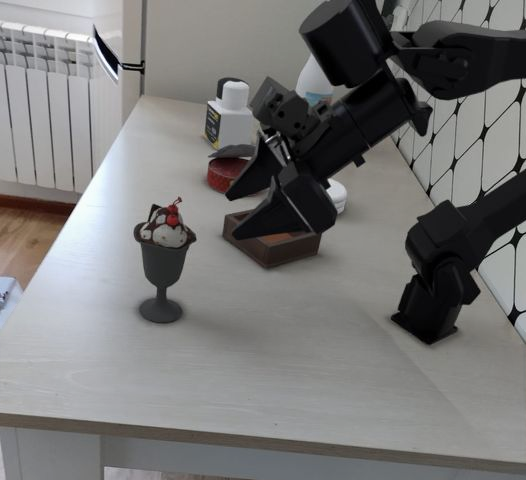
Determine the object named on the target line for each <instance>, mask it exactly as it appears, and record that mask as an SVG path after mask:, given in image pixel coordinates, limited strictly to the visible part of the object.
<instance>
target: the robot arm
mask: <svg viewBox="0 0 526 480" xmlns="http://www.w3.org/2000/svg"><path fill="white" fill-rule="evenodd" d="M298 33H299V35H300V36H301V38H302V40H303V41H304V43H305V45H306V46H307V48H308V50H309V51H310V54H311V53H312V55H313V56H314V58H315V60H316V61H317V63H318V64H319V66H320V68H321V69H322V71H323V73H324V74H325V76H326V78H327V79H328V81H329V82H330V84H331V85H332V86H334V87H340V86H344V87H345V89H348V90H349V91H348V92H346V93H345V94H343V95H342V96H341V97H340V98H339V99H337V100H336V101H334V102H333V103H331V105H329V103H328V102H327V100H326V101H323V100H322V101H320V102H318V103H317V104H316V105H314V106H313V107H311V106H310V105H309V103H308V101H307V99H306V98H305V97H303V98H302V97H300V96H299V95H298V94H297V92H296V89H292V90H289V89H288V88H287V87H285V86H284V85H282V84H281V83H279V82H278V81H277V80H275V79H274V78H272V77H271V76H269V75H267V76H265V78H264V80H263V82H262V83H261V85H260V87H259V88H258V90H257V92H256V93H255V94H254V96H253V98H252V99H251V101H250V102H249V104H248V105H249V107H250V108H251V109H252V110H251V111H252V114H253V116H254V119H256V120H257V121H258V123H259V126H260V129H261V131H262V132H261V131H260V129H257V131H256V140H255V147H256V149H255V153H254V155H253V156H252V157H250V159H248V160H249V162H248V163H247V165H246V166H245V167H244V169H243V170H242V171H241V172H240V174H239V175H238V176H237V178H236V179H235V180H234V182H233V183H232V184H231V186H230V187H229V188H228V190H227V191H226V192H225V194H224V197H225V198H226V199H227V200H228V201H229V202H234V201H237V200H240V199H243V198H246V197H250V196H249V195H251V194H254V193H256V192H259V191H261V192H263V191H265V190H267V189H269V190H268V194H267V196H266V197H265V198H264V199H263V200H262V201H261V202H260V203H258V205H257V206H255V207H254V208H253V209H254V210H253V211H251V212H250V213H249V214H248V215H247V216H246V217H245V218H244V219H243V220H242V221H241V222H240V223H239V224H238V225H237V226H236V227H235V228H234V229H233V230H232V231H231V235H232V236H233V237H234V238H235V239H236V240H237V241H239V240H245V239H251V238H257V237H263V236H269V235H275V234H283V233H293V232H303V231H305V233H306V234H309V233H311V232H312V230H311V228H312V229H313V231H314V232H315V233H316V235H318V236H319V235H321V234H322V235H323V234H324V233H325V232H326V231H328V230H329V229H331V228H332V227H334V226H335V225H336V222H337V217H338V215H339V214H338V211H337V209H336V207H335V205H334V203H333V201H332V199H331V197H330V195H329V194H328V193H327V191H326V190H327V189H329V188H330V187H331V185H330V183H329V181H328V179H329V178H330V179H332V178H333V176H335V175H336V174H338V173H339V172H341V171H342V170H343V169H345V168H347V167H348V166H349V165H351V164H352V163H354V165H355V168H357V169H358V168H360V167H361V166H362V165H364V164H366V162H367V161H366V160H365V158H364V157H363V155H365V154H366V153H367V152H369V151H370V150H371V149H373V148H374V147H376V146H377V145H378V144H380V143H382V142H383V141H384V140H385V139H387V138H388V137H390V136H391V135H392V134H393V133H395V132H397V131H398V130H400V129H401V128H402V127H404V126H405V125H406V124H407V123H408V125H409V126H410V127H411V128H412V129H413V130H414V131H415V132H416V133H417V135H418V136H419V137H421V138H422V137H423V138H424V137H425V136H427V134H428V130H429V129H428V128H429V123H430V118H431V116H432V114H433V112H434V108H433V106H432V105H430V104H429V103H428V102H427V101H423V100H422V101H421V100H419V98H418V97H417V94H416V93H415V91H414V88H413V87H412V84H411V83H410V81H409V80H408V78H406V77H396V76H395V75H394V73H393V72H392V69H391V67H390V66H389V64H388V62H387V61H388V59H389V60H390V61H391V62H393V63H394V64H395V65H396V66H397V67H398V68H400V69H401V70H402V71H403V72H405V73H406V74H407V75H408V76H409V77H410V79H411V80H412V81H413V82H414V83H416V84H417V85H418V86H420V87H421V88H422V89H423V90H424V91H425V92H426V93H428V94H429V95H430V96H431V97H432V98H434V99H437V100H439V101H446V102H447V101H448V102H449V101H454V100H458V99H461V98H465V97H470V96H473V95H477V94H478V95H479V94H481V93H485V92H486V91H488V90H490V89H492V88H493V87H495V86H497V85H499V84H501V83H505V82H510V81H515V80H516V81H517V80H526V29H513V30H512V29H511V30H501V29H493V28H489V27H484V26H479V25H474V24H469V23H463V22H458V21H457V22H456V21H450V20H442V19H434V20H430V21H426V22H424V23H423V24H421V25H420V26H419V27H418V29H417V30H390V29H389V28H388V26H387V24H386V22H385V20H384V18H383V16H382V14H381V12H380V10H379V8H378V4H377V1H376V0H324V1H323V2H321V3H320V4H319V5H318V6H316V8H314V9H313V10H312V11H311V12H310V13H309V14H308V15H307V17H305V19H304V20H303V21H302V23H300V25H299V27H298ZM262 133H263V134H262ZM337 214H338V215H337ZM415 219H416V220H417V222H415V223H414V225H412V226H411V227H410V228H409V230H408V231H407V232H406V238H405V241H404V249H405V252H406V255H407V256H408V257H409V259H410V262H411V267H412V268H413V269H414V271H415V272H416V274H412V276H411V279H410V281H409V282H407V283H405V286H404V289H403V292H402V294H401V297H400V300H399V303H398V305H397V312H395V313H393V314H391V315H390V321H392V322H393V323H395V324H396V325H397V326H399V327H400V328H402V329H403V330H405V331H406V332H407V333H409V334H411V335H412V336H413V337H415V338H416V339H417V340H419V341H421V342H422V343H424V344H425V345H427V346H432V345H434V344H436V343H438V342H439V341H441V340H444V339H446V338H448V337H450V336H453V335H454V334H456V333H458V331H459V327H458V326H456V322H457V320H458V317H459V315H460V313H461V310H462V308H463V306H470V305H472V304H473V303H474V301H476V299H477V298H478V297H479V296H480V295H481V293H482V290H481V289H480V286H479V285H478V284H477V282H476V280H475V278H474V277H473V275H472V274H471V273H472V272H473V271H474V270H475V269H477V268H478V267H479V266H481V264H482V263H483V261H484V260H485V258H486V256H487V255H488V253H489V251H490V250H491V248H492V247H493V245H494V243H496V241H497V240H498V239H501V237H503V236H504V235H506V234H508V233H509V232H510V231H513V230H514V229H516V228H517V227H518V226H521V225H522V224H523V223H525V222H526V168H524V169H522V170H521V171H520V172H518V173H517V174H515V175H514V176H512V177H510V178H509V179H508V180H506V181H505V182H503V183H501V184H500V185H498V186H496V188H494V189H493V190H491V191H490V192H488V193H486V194H485V195H484V196H482V197H480V198H479V199H478V200H475V201H474V202H473V203H471V204H466V205H460V206H455V204H453V202H451V200H450V199H445V200H443V201H441V202H439V203H438V204H437V205H436V206H435V207H434V208H433V209H431V210H430V211H428V212H427V213H424V214H421V215H419V216H416V218H415ZM310 227H311V228H310Z"/></svg>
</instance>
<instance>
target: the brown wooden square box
mask: <svg viewBox="0 0 526 480" xmlns="http://www.w3.org/2000/svg"><path fill="white" fill-rule="evenodd" d="M254 209H255V208H252V209H247V210H241V211H238V212H237V211H236V212H232V213H227V214H224V218H223V228H222V234H221V237H222V238H223V239H224V240H226V241H227V242H229V243H230V244H231V245H232V246H234V247H235V248H236V249H238V250H239V251H240V252H242V253H243V254H244V255H246V256H247V257H249V258H250V259H251V260H252V261H253V262H255V263H256V264H258V265H259V266H260V267H262V268H263V269H265V270H267V269H272V268H274V267H279V266H283V265H285V264H288V263H292V262H296V261H299V260H304V259H306V258H309V257H313V256H316V255H318V253H319V248H320V246H321V242H322V236H323V233H322V234H321V235H319V236H318V235H316V233H315V232H314V231H313V229H312V228H311V227H310V228H311V230H312V232H311V233H309V234H306V233H305V231H303V232H293V233H283V234H275V235H269V236H263V237H257V238H251V239H245V240H239V241H237V240H236V239H235V238H234V237H233V236H232V235H231V231H232V230H233V229H234V228H235V227H236V226H237V225H238V224H239V223H240V222H241V221H242V220H243V219H244V218H245V217H246V216H247V215H248V214H249V213H250V212H251V211H253V210H254Z"/></svg>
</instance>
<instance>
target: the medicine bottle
mask: <svg viewBox="0 0 526 480" xmlns="http://www.w3.org/2000/svg"><path fill="white" fill-rule="evenodd" d="M216 85H217V86H216V94H215V100H208V101H207V104H206V115H205V124H204V125H205V126H204V138H205V139H206V140H207V141H208V142H209V143H210V144H211V145H212V147H214V148H215V150H217V151H218V150H220V149H221V148H223V147H225V146H228V145H239V144H247V145H251V141H252V134H253V127H254V120H255V117H254V116H253V114H252V111H253V110H250V109H249V108H248V107H247V106H248V102H249V95H250V85H249V83H248V82H246V81H245V80H243V79H240V78H237V77H229V76H228V77H222V78H220V79H218V80H217V84H216Z"/></svg>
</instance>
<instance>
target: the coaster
mask: <svg viewBox="0 0 526 480" xmlns="http://www.w3.org/2000/svg"><path fill="white" fill-rule="evenodd" d="M328 181H329V183H330V185H331V187H330V188H329V189H327V190H326V191H327V193H328V194H329V195H330V197H331V199H332V201H333V203H334V205H335V207H336V209H337V211H338V214H337V216H338V215H340V214H342V212H343V211H344V210H345V204H346V201H347V197H348V190H347V188H346V187H345V186H344V185H343V184H342V183H340V182H339V181H337V180H335V179H332V178H329V179H328Z"/></svg>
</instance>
